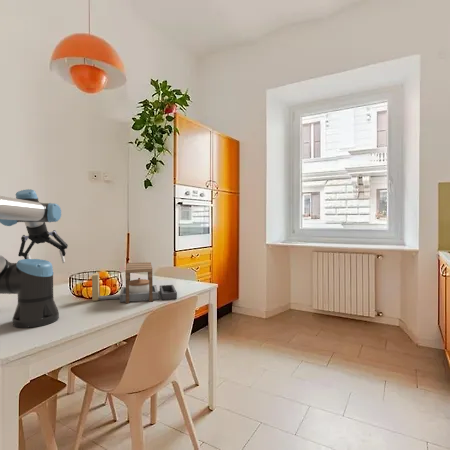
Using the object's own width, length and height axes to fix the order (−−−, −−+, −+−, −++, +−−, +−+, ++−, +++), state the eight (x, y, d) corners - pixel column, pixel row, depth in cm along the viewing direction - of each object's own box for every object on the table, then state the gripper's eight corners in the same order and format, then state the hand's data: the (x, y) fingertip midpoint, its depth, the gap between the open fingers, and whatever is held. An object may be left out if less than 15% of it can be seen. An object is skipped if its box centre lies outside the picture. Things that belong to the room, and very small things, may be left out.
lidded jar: (124, 296, 155) (124, 277, 154) (144, 293, 162) (144, 275, 161) (133, 301, 147) (133, 281, 146) (154, 297, 154) (154, 278, 153)
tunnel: (152, 301, 146) (152, 268, 145) (125, 303, 142) (125, 269, 142) (150, 291, 166) (150, 262, 165) (127, 292, 163) (127, 263, 162)
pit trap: (176, 298, 150) (176, 292, 150) (162, 299, 148) (162, 293, 148) (172, 290, 168) (172, 284, 167) (159, 291, 166) (159, 285, 166)
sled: (158, 299, 149) (158, 274, 148) (90, 304, 141) (90, 277, 140) (156, 291, 164) (156, 268, 164) (95, 295, 156) (95, 271, 156)
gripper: (66, 216, 145) (77, 255, 154) (5, 225, 138) (20, 265, 147) (65, 222, 139) (76, 263, 148) (0, 232, 132) (16, 274, 141)
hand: (48, 264), depth 148 cm, fingers open, 13 cm apart
